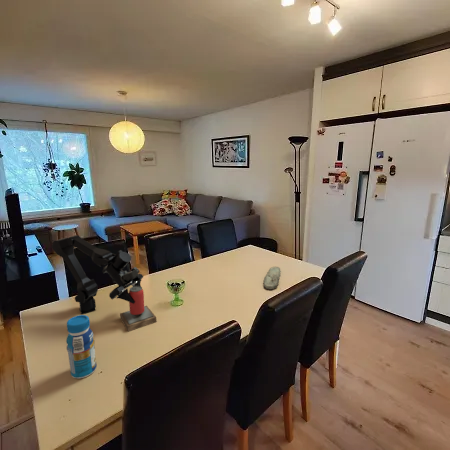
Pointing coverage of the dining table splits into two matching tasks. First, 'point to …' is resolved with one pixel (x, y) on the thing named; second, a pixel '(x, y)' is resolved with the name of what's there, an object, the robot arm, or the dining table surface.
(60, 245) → the robot arm
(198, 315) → the dining table surface
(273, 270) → the long grey stone
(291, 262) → the dining table surface
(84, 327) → the beverage bottle
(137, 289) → the beer can
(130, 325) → the walnut stand
